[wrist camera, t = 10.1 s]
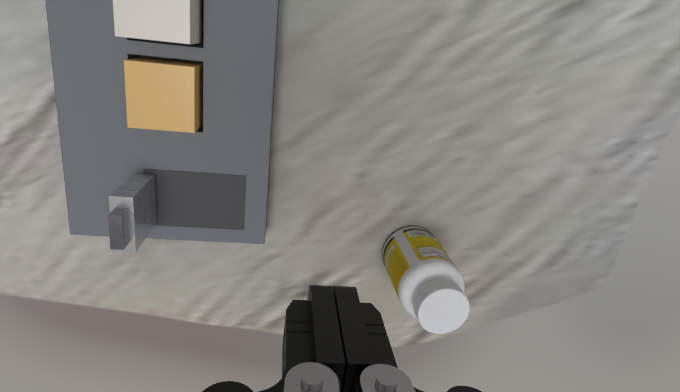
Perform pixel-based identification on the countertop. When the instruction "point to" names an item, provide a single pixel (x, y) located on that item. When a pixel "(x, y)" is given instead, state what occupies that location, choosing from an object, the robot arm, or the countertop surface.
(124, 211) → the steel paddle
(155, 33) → the ivory button
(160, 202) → the panel
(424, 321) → the supplement bottle
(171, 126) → the amber button
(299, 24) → the countertop surface
